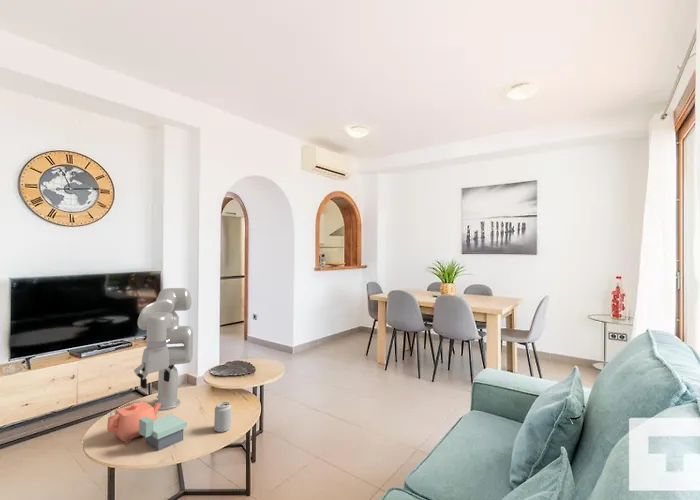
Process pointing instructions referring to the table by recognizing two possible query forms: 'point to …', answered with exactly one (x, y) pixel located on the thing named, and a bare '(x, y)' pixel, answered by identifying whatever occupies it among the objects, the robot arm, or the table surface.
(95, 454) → the table surface
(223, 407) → the can
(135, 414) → the teapot
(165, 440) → the tub
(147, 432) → the mint green stepped block
